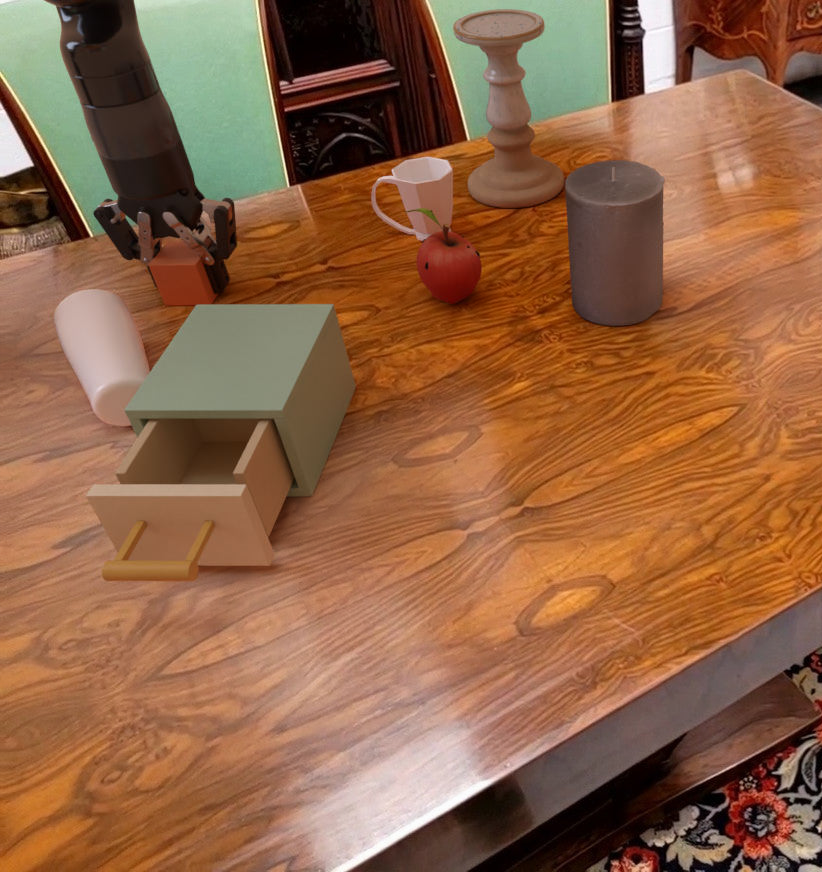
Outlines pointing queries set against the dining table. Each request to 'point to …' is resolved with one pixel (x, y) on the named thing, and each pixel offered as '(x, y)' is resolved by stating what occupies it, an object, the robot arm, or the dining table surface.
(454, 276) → the apple
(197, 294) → the block
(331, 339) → the cabinet
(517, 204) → the candle holder
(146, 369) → the drinking glass
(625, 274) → the pillar candle
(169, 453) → the drawer
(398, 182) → the cup
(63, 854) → the dining table surface
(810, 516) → the dining table surface
